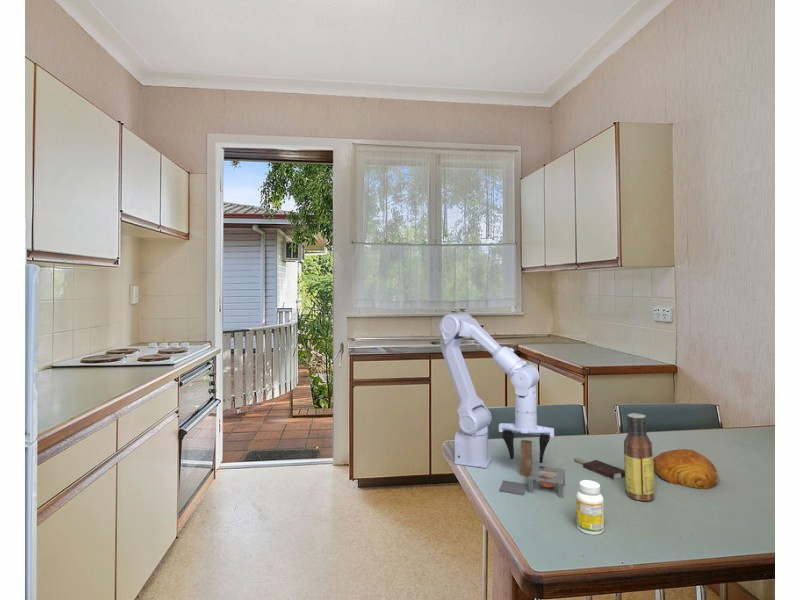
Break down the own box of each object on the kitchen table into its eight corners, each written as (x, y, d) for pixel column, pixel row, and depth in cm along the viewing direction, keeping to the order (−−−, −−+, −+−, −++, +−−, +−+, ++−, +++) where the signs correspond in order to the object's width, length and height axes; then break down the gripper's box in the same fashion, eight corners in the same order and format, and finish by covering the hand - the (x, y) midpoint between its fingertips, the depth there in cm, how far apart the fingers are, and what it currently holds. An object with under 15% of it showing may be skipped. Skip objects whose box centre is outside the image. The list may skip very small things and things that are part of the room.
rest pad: (499, 491, 114) (499, 489, 114) (503, 481, 120) (503, 480, 120) (523, 495, 112) (523, 493, 112) (526, 485, 117) (526, 483, 117)
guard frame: (529, 492, 113) (528, 476, 113) (532, 479, 121) (532, 464, 121) (563, 497, 110) (562, 481, 110) (564, 484, 118) (564, 469, 118)
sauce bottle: (651, 492, 112) (651, 412, 112) (657, 504, 106) (656, 419, 106) (622, 489, 114) (622, 410, 114) (625, 500, 108) (625, 417, 108)
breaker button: (539, 486, 115) (539, 478, 114) (540, 480, 118) (540, 473, 118) (553, 488, 113) (553, 480, 113) (554, 482, 116) (554, 475, 116)
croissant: (710, 479, 125) (710, 449, 125) (722, 494, 111) (722, 461, 111) (650, 469, 131) (650, 441, 132) (655, 483, 117) (655, 451, 118)
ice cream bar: (569, 463, 133) (615, 481, 120) (569, 457, 133) (615, 475, 120) (581, 459, 135) (628, 477, 122) (581, 454, 135) (628, 471, 122)
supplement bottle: (599, 538, 92) (599, 491, 92) (572, 530, 96) (572, 484, 95) (607, 527, 96) (606, 482, 96) (581, 519, 100) (581, 476, 99)
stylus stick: (520, 475, 124) (520, 442, 123) (522, 472, 126) (521, 439, 126) (530, 477, 123) (530, 443, 122) (531, 473, 125) (531, 440, 125)
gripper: (496, 411, 123) (497, 461, 123) (552, 416, 117) (553, 468, 118) (501, 405, 129) (501, 453, 130) (554, 409, 124) (555, 459, 124)
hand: (526, 460), depth 124 cm, fingers open, 7 cm apart
